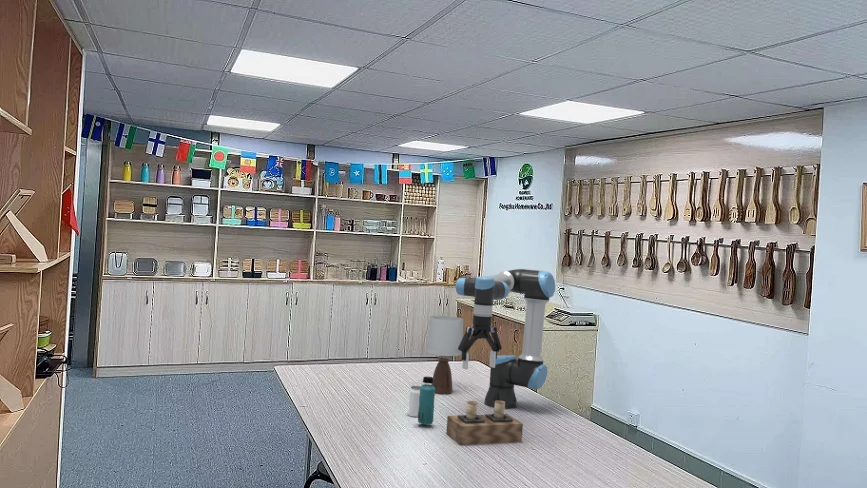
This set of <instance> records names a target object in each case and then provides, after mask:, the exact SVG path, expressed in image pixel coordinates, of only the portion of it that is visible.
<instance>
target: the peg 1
mask: <svg viewBox="0 0 867 488" xmlns="http://www.w3.org/2000/svg"><path fill="white" fill-rule="evenodd" d="M465 411H466V412H465V413H466V414H465V415H466V419H467V420H476V415H478V413H477V411H478V402H477V401H473V400H468V401H467V402H466V410H465Z"/></svg>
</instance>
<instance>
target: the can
mask: <svg viewBox="0 0 867 488" xmlns="http://www.w3.org/2000/svg"><path fill="white" fill-rule="evenodd" d="M420 387H421V386H418V385H412V386H410V389H409V393H408V394H409V395H408V397H409V398H408V409H407V410H408V411H407V414H408V416H409V417H412V418H418V411H419V397H420Z"/></svg>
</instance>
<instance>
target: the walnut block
mask: <svg viewBox="0 0 867 488" xmlns="http://www.w3.org/2000/svg"><path fill="white" fill-rule="evenodd" d="M446 419H447V421H446V433H445V434H446V435H447V436H448V437H450V438H451V439H453V440H454V441H455V443H457V444H458V445H459V446H465V445H467V446H470V445H486V444H505V443H506V444H507V443H522V442H523V429H524V424H523V423H522V422H521V421H519V420H517V419H515V418H514V417H512V416H511V415H510V414H507V413H504V419H495V418H494V413H487V414H477V415H476V420H467V419H466V414H458V415H447V417H446Z"/></svg>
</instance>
